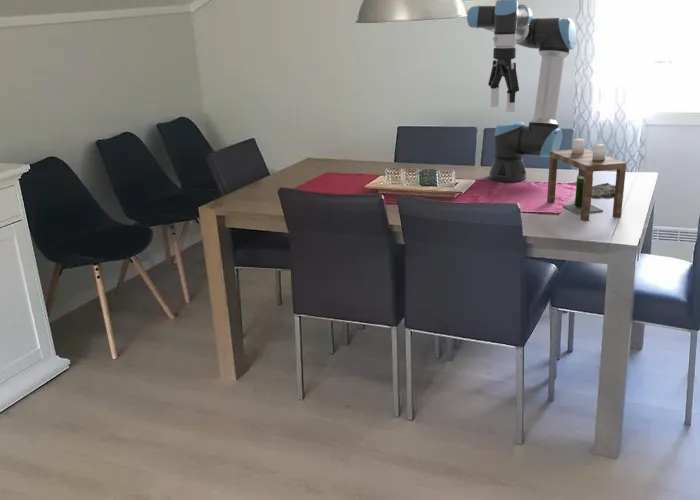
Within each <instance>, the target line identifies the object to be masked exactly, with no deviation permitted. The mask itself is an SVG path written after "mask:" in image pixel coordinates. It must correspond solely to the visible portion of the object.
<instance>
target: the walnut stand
mask: <svg viewBox="0 0 700 500" xmlns="http://www.w3.org/2000/svg"><path fill="white" fill-rule="evenodd" d="M558 161H559V162H562V163H565V164H567V165H569V166H571V167H574V168H577V169H578V174H580V173H584V183H583V195H582V208H581V214H580V221H583V222H590V214H591V213H590V203H591V204H592V198H591V191H592V186H593V184H592V179H593V180H594V177H593V176H594V172H603V171H605V172H606V171H616V174H615V175H616V177H615V194H614V197H613V205H612V214H611V215H612V218H614V219H620V218H622V213H623V212H622V211H623V210H622V209H623V201H624V200H623V199H624V191H625V182H626V179H625V178H626V170H627V162H625V161H622V160H619V159H617V158H614V157H611V156H609V155H608V156H607V155H605V160H593V150H592V149H588V148H585V147H584V154H581V155H576V154H572V149H561V150H560V149H559V150H558V151H550V157H549V164H548V165H549V167H548V182H547V183H548V184H547V198H546V202H547V203H548V204H555V202H556V185H557V174H558V173H557V172H558Z"/></svg>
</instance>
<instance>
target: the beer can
mask: <svg viewBox="0 0 700 500" xmlns="http://www.w3.org/2000/svg"><path fill="white" fill-rule="evenodd" d="M593 182H594V178H593V179H592V185H593V184H594V183H593ZM583 183H584V173H580V174H579V173H578V174H577V177H576V184H575V185H576V186H575V195H574V196H575V198H574V200H575V201H574V204H575V207H576V208H577V209H581V208H582V195H583ZM591 196H592V191H591ZM591 205H592V202H591V203H590V206H591Z"/></svg>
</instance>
